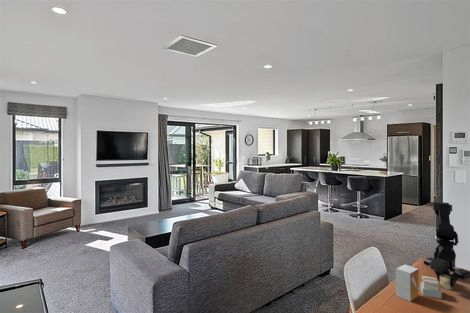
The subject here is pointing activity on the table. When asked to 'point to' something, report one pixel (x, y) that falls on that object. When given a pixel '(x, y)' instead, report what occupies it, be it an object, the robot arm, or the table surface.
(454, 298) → the table surface
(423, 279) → the cream top block
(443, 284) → the maple cylinder
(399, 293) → the small box
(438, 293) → the sage base block
